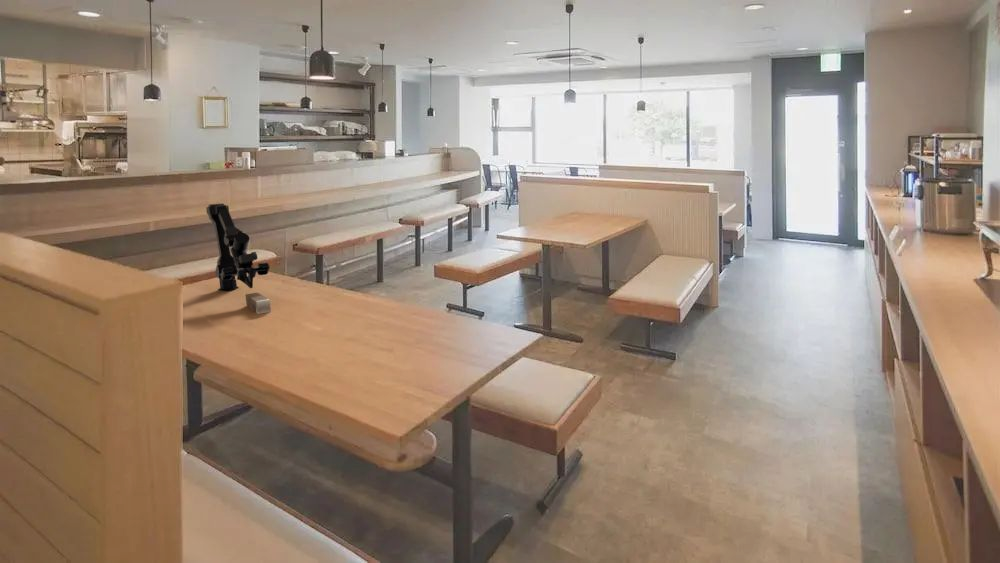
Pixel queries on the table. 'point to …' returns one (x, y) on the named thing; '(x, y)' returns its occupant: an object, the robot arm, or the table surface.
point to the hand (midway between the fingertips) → (251, 287)
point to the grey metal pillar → (258, 303)
